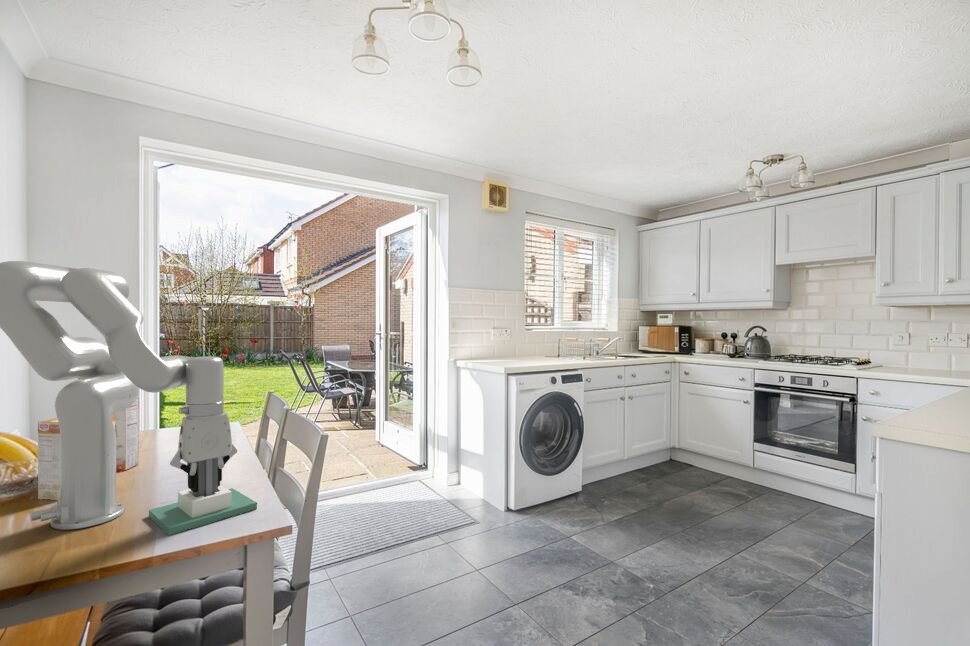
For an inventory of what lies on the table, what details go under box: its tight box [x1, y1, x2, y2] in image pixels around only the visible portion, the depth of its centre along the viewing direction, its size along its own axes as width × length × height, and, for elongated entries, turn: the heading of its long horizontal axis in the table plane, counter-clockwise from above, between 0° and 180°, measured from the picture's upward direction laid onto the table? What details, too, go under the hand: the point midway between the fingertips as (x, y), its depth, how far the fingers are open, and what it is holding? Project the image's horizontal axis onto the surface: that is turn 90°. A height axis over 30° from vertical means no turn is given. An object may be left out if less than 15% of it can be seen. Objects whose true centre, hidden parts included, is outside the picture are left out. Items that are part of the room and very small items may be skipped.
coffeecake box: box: [37, 413, 115, 501], centre depth 121 cm, size 15×7×20 cm, turn 174°
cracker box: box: [115, 397, 140, 472], centre depth 137 cm, size 14×6×21 cm, turn 92°
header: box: [177, 484, 232, 518], centre depth 107 cm, size 8×9×4 cm
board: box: [148, 487, 258, 536], centre depth 108 cm, size 18×14×2 cm
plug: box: [193, 458, 218, 497], centre depth 107 cm, size 4×5×10 cm
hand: (205, 486), depth 108 cm, fingers closed on plug, 4 cm apart
